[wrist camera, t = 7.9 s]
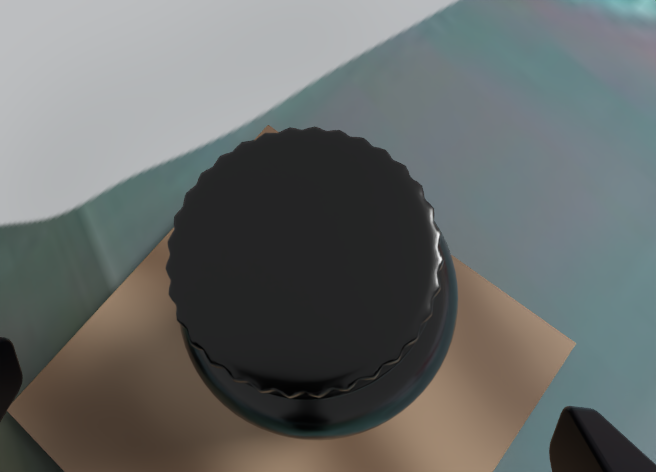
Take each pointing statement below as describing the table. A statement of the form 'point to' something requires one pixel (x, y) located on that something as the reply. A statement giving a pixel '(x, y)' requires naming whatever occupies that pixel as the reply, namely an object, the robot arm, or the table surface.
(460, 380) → the board
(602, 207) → the table surface
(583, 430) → the robot arm
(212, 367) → the supplement bottle
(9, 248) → the table surface
